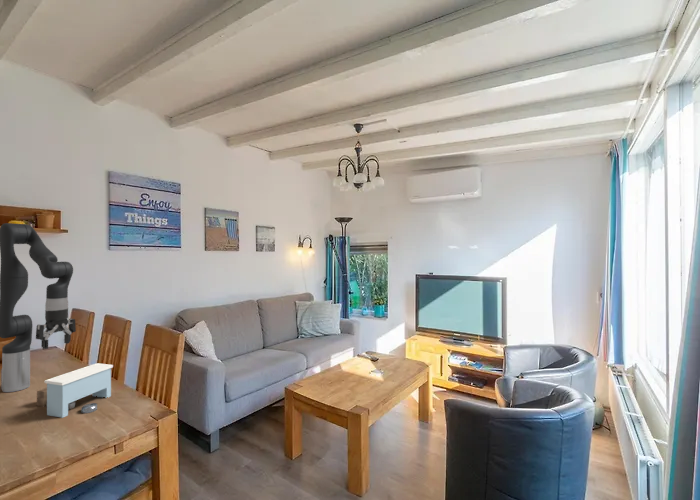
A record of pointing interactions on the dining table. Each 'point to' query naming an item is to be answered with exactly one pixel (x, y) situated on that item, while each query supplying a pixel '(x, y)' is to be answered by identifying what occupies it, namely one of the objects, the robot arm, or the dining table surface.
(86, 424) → the dining table surface
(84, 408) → the token
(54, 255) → the robot arm
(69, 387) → the bench
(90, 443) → the dining table surface
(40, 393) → the wooden cube mallet
